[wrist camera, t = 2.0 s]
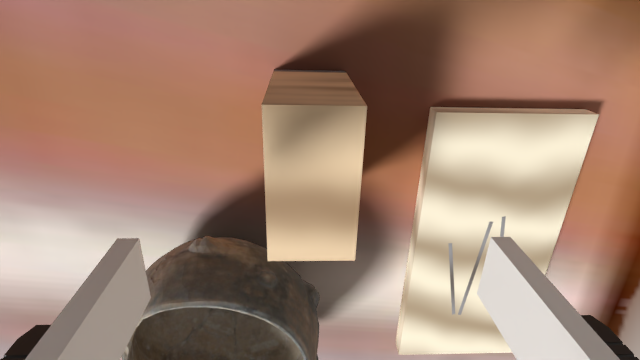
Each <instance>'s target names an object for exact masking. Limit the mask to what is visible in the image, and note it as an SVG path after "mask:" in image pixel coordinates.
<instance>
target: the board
mask: <svg viewBox="0 0 640 360" xmlns="http://www.w3.org/2000/svg"><path fill="white" fill-rule="evenodd" d="M598 116H599V114H597V113H594V112H591V111H589V110H586V109H539V108H467V107H430V112H429V119H428V126H427V133H426V139H425V146H424V153H423V160H422V166H421V173H420V180H419V187H418V193H417V200H416V207H415V214H414V221H413V227H412V234H411V241H410V248H409V254H408V261H407V268H406V275H405V281H404V288H403V295H402V302H401V309H400V315H399V322H398V329H397V336H396V346H397V350H398V353H399V355H414V354H462V353H509V352H512V351H511V349H510V348H509V346H508V344H507V343H506V341H505V339H504V338H503V336H502V334H501V333H500V331H499V329H498V328H497V326H496V324H495V323H494V321H493V319H492V318H491V316H490V315H489V313H488V311H487V310H486V308H485V306H484V305H483V303H482V301H481V300H480V298H479V296H478V295H477V291H478V287H479V283H480V279H481V275H482V271H483V267H484V263H485V259H486V255H487V251H488V247H489V243H490V239H491V237H511V238H512V239H513V240H514V241H515V243H516V244H517V245H518V246H519V247H520V248H521V249H522V250H523V252H524V253H525V254H526V255H527V256H528V257H529V258H530V259H531V260H532V262H533V263H534V264H535V265H536V266H537V267H538V268H539V269H540V271H541V272H542V273H543V274H544V275H545V274H546V271H547V268H548V265H549V262H550V259H551V256H552V253H553V250H554V247H555V244H556V241H557V238H558V235H559V232H560V229H561V226H562V223H563V220H564V217H565V214H566V211H567V208H568V205H569V202H570V199H571V196H572V193H573V190H574V187H575V184H576V181H577V178H578V176H579V173H580V170H581V167H582V164H583V161H584V158H585V155H586V152H587V149H588V146H589V143H590V140H591V137H592V134H593V131H594V128H595V125H596V122H597V119H598Z"/></svg>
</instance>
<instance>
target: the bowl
mask: <svg viewBox="0 0 640 360" xmlns="http://www.w3.org/2000/svg"><path fill="white" fill-rule="evenodd" d="M146 276H147V281H148V286H149V291H150V296H151V299H150V301H149V303H148V305H147V307H146V309H145V311H144V313H143V315H142V317H141V319H140V321H139V323H138V325H137V327H136V329H135V331H134V333H133V335H132V337H131V339H130V341H129V343H128V345H127V347H126V349H125V351H124V353H123V355H122V360H318V355H317V348H318V338H319V322H318V318H317V311H316V307H317V304H318V301H319V294H318V292H317V290H316V289H315V287H314V286H313V285H311V284H309V283H307V282H305V281H304V280H303V279H301V277H300V276H299V275H298V274H297V273H296V272H295V271H294V270H293V269H292V268H291V267H290V266H289V265H288V264H287V263H285V262H284V261H268V259H267V249H266V248H264V247H261V246H259V245H257V244H254V243H252V242H249V241H245V240H241V239H236V238H229V237H221V238H213V237H210V236H204V238H198V239H196V240H192V241H189V242H187V243H184V244H182V245H180V246H178V247H176V248H174V249H173V250H171V251H170V252H168V253H167V254H165V255H164V256H162V257H161V258H159V259H158V260H157V261H156V262H154V263H153V264H152V265H151V266H150V267H149V268H148V269H147V270H146Z"/></svg>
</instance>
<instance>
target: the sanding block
mask: <svg viewBox="0 0 640 360" xmlns="http://www.w3.org/2000/svg"><path fill="white" fill-rule="evenodd" d="M366 115H367V105H366V103H365V102H364V100H363V99H362V97H361V95H360V94H359V92H358V91H357V89H356V87H355V86H354V84H353V83H352V81H351V79H350V78H349V76H348V75H347V73H346V71H329V70H276V69H274V72H273V74H272V77H271V80H270V83H269V86H268V88H267V91H266V94H265V97H264V100H263V102H262V126H263V152H264V179H265V205H266V232H267V259H268V261H355V255H356V242H357V230H358V217H359V204H360V191H361V178H362V166H363V153H364V140H365V127H366Z"/></svg>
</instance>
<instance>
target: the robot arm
mask: <svg viewBox="0 0 640 360" xmlns="http://www.w3.org/2000/svg"><path fill="white" fill-rule="evenodd" d="M477 295H478V296H479V298H480V300H481V301H482V303H483V305H484V306H485V308H486V310H487V311H488V313H489V315H490V316H491V318H492V319H493V321H494V323H495V324H496V326H497V328H498V329H499V331H500V333H501V334H502V336H503V338H504V339H505V341H506V343H507V344H508V346H509V348H510V349H511V351H512V353H513V354H514V356H515V357H516V359H517V360H639V359H638V358H637V357H634V354H633V353H632V352H631V351H630V350H629V348H628V347H627V346H626V345H623V344H622V341H621V340H620V339H619V338H618V337H617V336H616V335H615V334H614V333H613V332H612V331H611V329H610V328H609V327H607V326H606V325H604V324H603V323H601V322H600V321H598V320H597V319H595V318H594V317H593V316H591V315H580V314H579V313H578V312H577V311H576V310H575V309H574V308H573V306H572V305H571V304H570V303H569V302H568V301H567V300H566V299H565V297H564V296H563V295H562V294H561V293H560V292H559V291H558V290H557V288H556V287H555V286H554V285H553V284H552V283H551V282H550V281H549V280H548V278H547V277H546V276H545V275H544V274H543V273H542V272H541V271H540V269H539V268H538V267H537V266H536V265H535V264H534V263H533V262H532V260H531V259H530V258H529V257H528V256H527V255H526V254H525V253H524V252H523V250H522V249H521V248H520V247H519V246H518V245H517V244H516V243H515V241H514V240H513V239H512V238H511V237H491V239H490V243H489V247H488V251H487V255H486V259H485V263H484V267H483V271H482V275H481V279H480V283H479V287H478V291H477ZM150 299H151V296H150V291H149V286H148V281H147V276H146V271H145V265H144V260H143V255H142V250H141V245H140V240H139V238H131V239H117V240H116V241H115V242H114V244H113V245H112V246H111V248H110V249H109V250H108V252H107V253H106V254H105V256H104V257H103V258H102V259H101V261H100V262H99V263H98V265H97V266H96V267H95V269H94V270H93V271H92V273H91V274H90V275H89V276H88V278H87V279H86V280H85V282H84V283H83V284H82V286H81V287H80V288H79V290H78V291H77V292H76V293H75V295H74V296H73V297H72V299H71V300H70V301H69V303H68V304H67V305H66V306H65V308H64V309H63V310H62V312H61V313H60V314H59V316H58V317H57V318H56V320H55V321H54V322H53V323H52V325H36V326H35V327H33V328H32V329H31V330H29V331H28V332H26V333H25V334H24V335H22V336H21V337H20V338H18V339H17V340H16V342H15V343H14V344H13V345H12V346H11V348H10V349H9V350H8V351H7V352H6V354H5V355H4V358H3V359H1V360H120V359H121V357H122V355H123V353H124V351H125V349H126V347H127V345H128V343H129V341H130V339H131V337H132V335H133V333H134V331H135V329H136V327H137V325H138V323H139V321H140V319H141V317H142V315H143V313H144V311H145V309H146V307H147V305H148V303H149V301H150Z"/></svg>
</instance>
